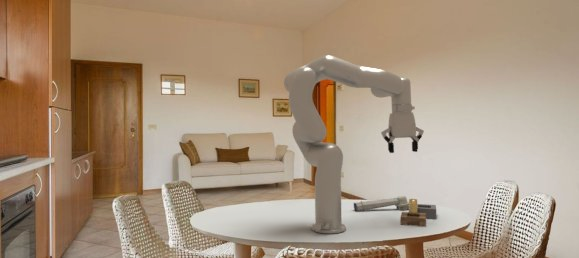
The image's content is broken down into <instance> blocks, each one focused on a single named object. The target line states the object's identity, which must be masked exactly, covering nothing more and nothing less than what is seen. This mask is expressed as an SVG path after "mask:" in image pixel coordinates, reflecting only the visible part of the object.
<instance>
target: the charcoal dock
mask: <svg viewBox="0 0 579 258" xmlns="http://www.w3.org/2000/svg"><path fill="white" fill-rule="evenodd" d="M436 206H437V205H436V204H428V203H427V204H425V203H424V204H422V203H417V213H426V220H437V207H436Z"/></svg>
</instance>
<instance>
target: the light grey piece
mask: <svg viewBox="0 0 579 258" xmlns="http://www.w3.org/2000/svg"><path fill="white" fill-rule="evenodd" d="M391 206H395V207H396V210H398V211H407V210H409V201H408V199H407V196H406V195H400V196H397V197H394V198H383V199H375V200H367V201H366V200H365V201H362V200H360V201H359V202H353V208H354V211H355V212H365V211H370V210H374V209H379V208H384V207H385V208H387V207H391Z"/></svg>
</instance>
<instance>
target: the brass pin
mask: <svg viewBox="0 0 579 258" xmlns="http://www.w3.org/2000/svg"><path fill="white" fill-rule="evenodd" d="M408 202H409V209H408V212H409V216H417V217H418V214H417V204H418V199H417V198H409V199H408Z"/></svg>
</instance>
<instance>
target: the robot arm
mask: <svg viewBox="0 0 579 258" xmlns="http://www.w3.org/2000/svg"><path fill="white" fill-rule="evenodd" d="M324 80H329V81H332V82H335V83H339V84H342V85H345V86H347V87H350V88H355V89H356V88H358V89H359V88H360V89H363V88H369V89H370V92H371V94H372V95H373V96H374V97H376V98H381V99H382V98H388V97H390V98H391V113H389V117H388V127H387V128H386V129H384V130H383V131H381V132H380V134H381V136H382V137H383V140H385V142H386V143H387V150H388V152H389V153H390V154H394V153H395V148H394V147H395V145H394V144H395V143H394V140H395V139H399V138H400V139H401V138H403V139H405V138H410V139H411V140H412V142H411V151H412V152H415V153H417V152H418V150H419V141H420V140H421V139H422V138H423V137H422V136H423V135H424V132H425V131H424V130H423V129H422V128H419V127H417V126H416V119H415V115H414V112H413V110H415V105H412V92H411V91H412V90H411V80H410V78H407V77H400V76H399V75H397V74H395V73H393V72H390V71H387V70H384V69H379V68H374V67H368V66H362V65H358V64H355V63H353V62H350V61H347V60H345V59H343V58H339V57H337V56H334V55H332V54H325V55H322V56H320V57H318V58H315V59H313V60H311V61H310V62H308V63H306V64H304V65H303V66H300V67H298V68H297V69H294V70H293V71H290V72H288V73H287V74H286V75H285V77H284V80H283V85H284V89H285V90H286V91H287V92H288V105H289V109H290V111H291V114H292V116H293V118H294V120H295V122H294V123H293V125H292V129H291V130H292V136H293V139H294V141H295V143H296V144H297V147H298V149H299V150H300V152H301V154H302V156H303V158H304V159H305V161H306V162H307V163H308V164H309V165H310V166H313V167H314V168H316V171H315V175H314V209H315V211H314V212H315V213H314V215H315V217H314V218H315V221H314V222H315V223H313V224H311V225H310V227H311V228H310V229H311V230H312V231H313V232H316V233H319V234H339V233H343V232H345V231H346V229H347V226H346V224H343V223H342V168H343V162H344V155H343V151H342V149H341V148H340V146H338V145H337V144H336V143H333V142H323V141H324V140H325V139H326V137H327V133H328V132H327V127H326V125H325V123H324V121H323V120H322V117H321V115H320V114H319V112H318V110H317V107H316V106H315V104H314V99H313V92H314V89H315V86H316V85H317V83H319V82H321V81H324ZM387 133H388V135H387ZM417 133H418V134H417Z"/></svg>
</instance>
